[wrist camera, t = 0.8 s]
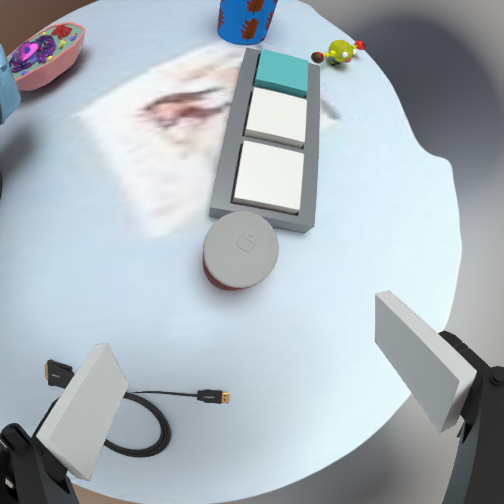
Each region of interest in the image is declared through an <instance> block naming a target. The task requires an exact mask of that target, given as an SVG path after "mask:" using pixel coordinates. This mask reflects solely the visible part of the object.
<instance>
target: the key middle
mask: <svg viewBox="0 0 504 504" xmlns="http://www.w3.org/2000/svg"><path fill="white" fill-rule="evenodd" d="M306 110H307V100H305V99H301V98H298V97H294V96H290V95H286V94H282V93H278V92H274V91H269V90H265V89H260V88H256V87H254V90H253V93H252V97H251V100H250V105H249V111H248V116H247V121H246V126H245V132H244V136H245V137H250V138H255V139H260V140H264V141H269V142H273V143H278V144H282V145H286V146H291V147H295V148H299V149H301V147H302V146H303V144H304V143H305V129H306Z"/></svg>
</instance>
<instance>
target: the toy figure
mask: <svg viewBox="0 0 504 504" xmlns="http://www.w3.org/2000/svg"><path fill="white" fill-rule="evenodd" d="M355 47H356V48H357V49H359V50H364V49H365V44H364V42H362V41H356V42H355V46H354V45H350V44H349V43H348V42H346V41H344V40H336V41H333V42H332V43H331V44H330V46H329V52H326V53H325V54H324V55H323V54H322V53H320V52H315V53H313V54H312V55H311V59H312V60H313V62H315V63H321V62H323V61H324V56H325V57H329V56H331V57H332V60H331V61H330V62H329V63H330V64H331V65H333V66H335V65H336V64H340V63H339V62H346V63H348V62H350V61H351V58H352V56H353V55H356V54H357V51H356V50H355ZM334 60H335V61H334ZM333 62H335V63H336V64H334V63H333Z"/></svg>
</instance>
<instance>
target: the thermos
mask: <svg viewBox="0 0 504 504" xmlns="http://www.w3.org/2000/svg"><path fill="white" fill-rule="evenodd" d="M277 1H278V0H221V3H220V10H219V18H218V34H219V35H220V37H221V38H223V39H224V40H226V41H228V42H231V43H234V44H239V45H253V44H257V43H260V42H261V41H263V40H264V38H265V36H266V33H267V31H268V28H269V26H270V23H271V20H272V17H273V14H274V11H275V8H276V4H277Z"/></svg>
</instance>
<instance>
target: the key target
mask: <svg viewBox="0 0 504 504" xmlns="http://www.w3.org/2000/svg"><path fill="white" fill-rule="evenodd" d="M307 85H308V61H307V60H303V59H300V58H296V57H292V56H289V55H285V54H281V53H277V52H272V51H268V50H263V49H262V51H261V54H260V58H259V61H258V65H257V70H256V75H255V80H254V85H253V86H255V87H260V88H265V89H269V90H274V91H278V92H282V93H286V94H290V95H294V96H297V97H301V98H304V97H305V95H306V93H307Z"/></svg>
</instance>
